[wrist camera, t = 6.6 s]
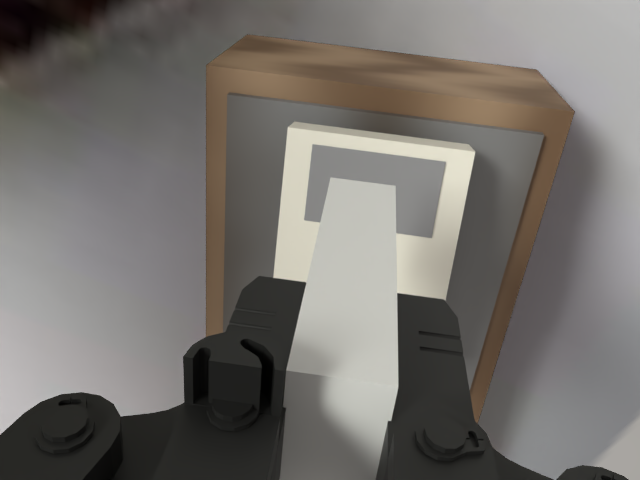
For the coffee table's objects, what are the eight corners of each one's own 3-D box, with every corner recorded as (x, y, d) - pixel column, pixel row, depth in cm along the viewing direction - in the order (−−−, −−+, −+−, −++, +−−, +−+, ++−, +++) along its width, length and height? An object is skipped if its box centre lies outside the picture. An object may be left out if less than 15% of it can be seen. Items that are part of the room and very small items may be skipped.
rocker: (272, 341, 22) (264, 361, 20) (294, 121, 19) (287, 127, 18) (425, 364, 21) (428, 386, 20) (468, 144, 19) (475, 152, 17)
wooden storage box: (231, 512, 40) (199, 623, 33) (247, 34, 25) (195, 73, 18) (412, 542, 39) (415, 662, 33) (543, 70, 24) (593, 123, 18)
